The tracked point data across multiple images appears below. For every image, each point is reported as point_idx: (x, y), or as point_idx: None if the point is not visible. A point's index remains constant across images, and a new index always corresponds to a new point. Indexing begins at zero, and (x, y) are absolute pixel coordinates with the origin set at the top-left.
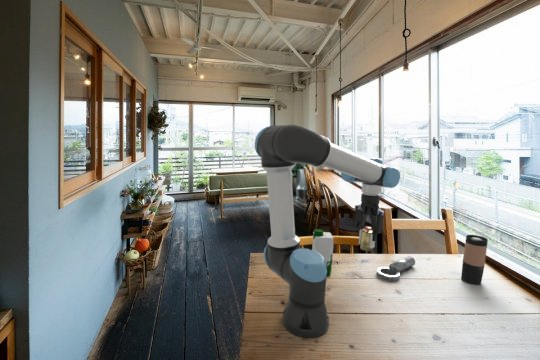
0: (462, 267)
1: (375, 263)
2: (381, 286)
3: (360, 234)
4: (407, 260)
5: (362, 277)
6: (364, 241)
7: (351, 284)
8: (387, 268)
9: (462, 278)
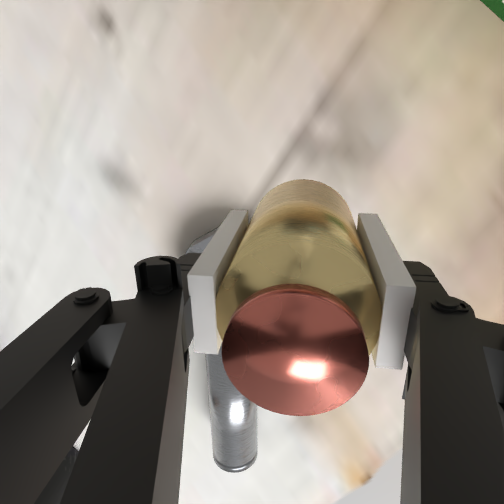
0: (52, 496)
1: None
2: (185, 154)
3: (382, 256)
4: (218, 429)
5: (299, 152)
6: (289, 204)
7: (286, 16)
8: None
9: (69, 453)
